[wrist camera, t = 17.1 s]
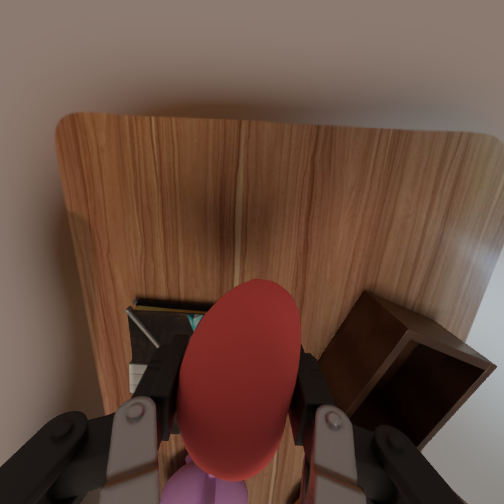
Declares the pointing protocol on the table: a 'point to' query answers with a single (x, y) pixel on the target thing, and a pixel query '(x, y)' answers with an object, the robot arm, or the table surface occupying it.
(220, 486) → the teapot
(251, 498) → the table surface
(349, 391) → the chest
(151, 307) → the book
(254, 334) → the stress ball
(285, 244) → the table surface
